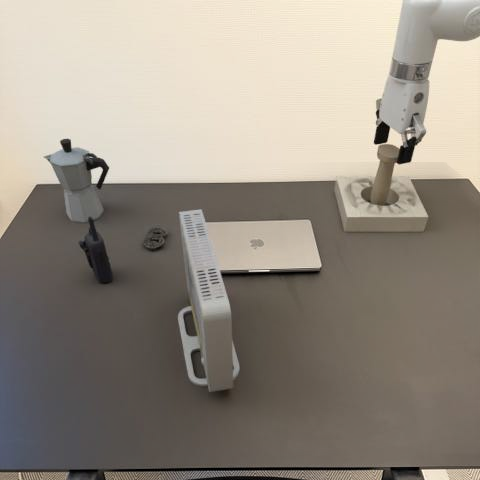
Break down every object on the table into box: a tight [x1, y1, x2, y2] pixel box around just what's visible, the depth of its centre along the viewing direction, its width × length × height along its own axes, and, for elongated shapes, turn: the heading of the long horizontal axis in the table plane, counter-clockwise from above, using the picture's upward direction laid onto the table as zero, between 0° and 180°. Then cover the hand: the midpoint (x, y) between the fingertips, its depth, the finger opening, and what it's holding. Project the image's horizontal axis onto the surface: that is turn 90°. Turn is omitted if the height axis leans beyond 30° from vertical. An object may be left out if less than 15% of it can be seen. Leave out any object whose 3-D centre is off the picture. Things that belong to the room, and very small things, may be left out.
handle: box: [369, 143, 400, 206], centre depth 108 cm, size 5×6×15 cm
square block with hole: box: [333, 175, 429, 233], centre depth 112 cm, size 18×18×4 cm
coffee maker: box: [43, 138, 110, 224], centre depth 106 cm, size 15×9×18 cm, turn 80°
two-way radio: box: [78, 216, 114, 284], centre depth 91 cm, size 6×4×15 cm
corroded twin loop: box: [141, 226, 168, 251], centre depth 104 cm, size 5×8×1 cm, turn 175°
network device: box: [177, 209, 240, 393], centre depth 76 cm, size 26×9×20 cm, turn 12°
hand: (391, 152), depth 103 cm, fingers open, 9 cm apart
